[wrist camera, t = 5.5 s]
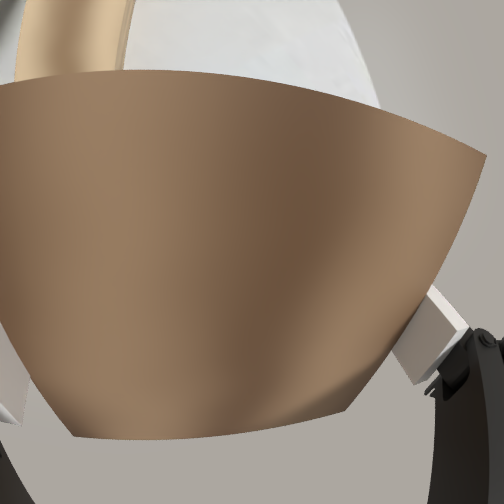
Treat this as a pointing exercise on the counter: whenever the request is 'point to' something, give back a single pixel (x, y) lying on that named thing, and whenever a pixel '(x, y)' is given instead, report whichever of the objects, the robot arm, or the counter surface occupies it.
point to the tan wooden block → (72, 37)
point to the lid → (213, 246)
